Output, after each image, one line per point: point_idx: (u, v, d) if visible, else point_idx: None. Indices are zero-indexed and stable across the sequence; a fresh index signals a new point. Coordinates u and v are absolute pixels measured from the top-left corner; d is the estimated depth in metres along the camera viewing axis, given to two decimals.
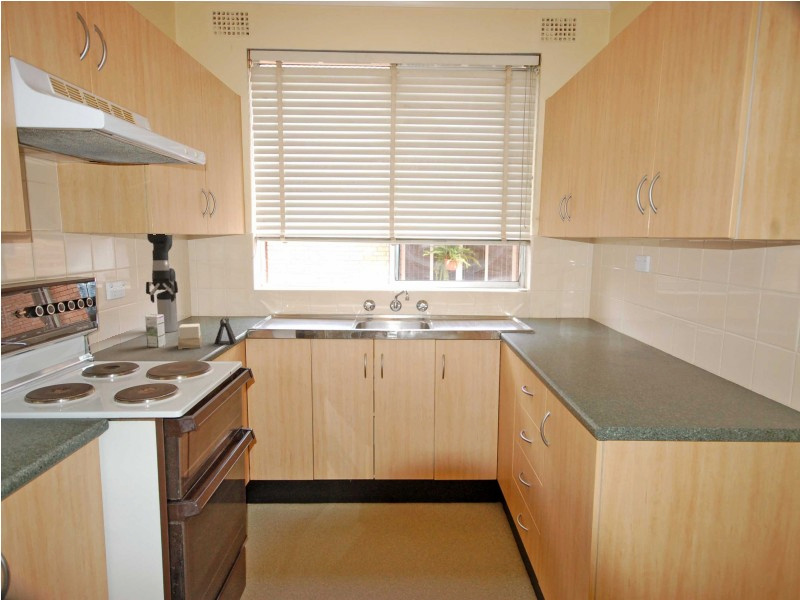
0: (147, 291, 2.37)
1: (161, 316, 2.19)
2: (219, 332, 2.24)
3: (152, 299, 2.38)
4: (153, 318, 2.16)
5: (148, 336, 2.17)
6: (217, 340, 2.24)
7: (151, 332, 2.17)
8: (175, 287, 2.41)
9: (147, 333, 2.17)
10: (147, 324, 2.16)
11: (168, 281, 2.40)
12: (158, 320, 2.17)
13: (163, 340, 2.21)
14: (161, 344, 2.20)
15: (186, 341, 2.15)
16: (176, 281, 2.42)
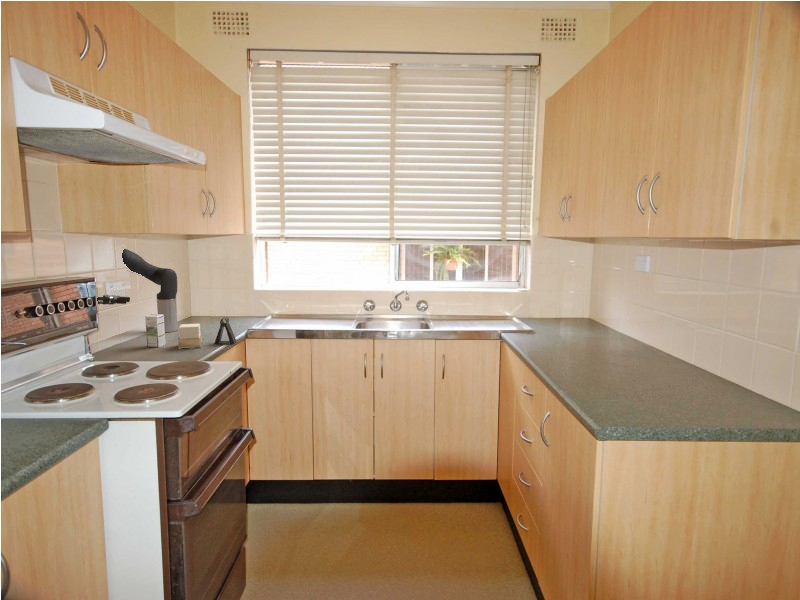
0: None
1: (161, 316, 2.19)
2: (219, 332, 2.24)
3: None
4: (153, 318, 2.16)
5: (148, 336, 2.17)
6: (217, 340, 2.24)
7: (151, 332, 2.17)
8: (106, 303, 2.06)
9: (147, 333, 2.17)
10: (147, 324, 2.16)
11: None
12: (158, 320, 2.17)
13: (163, 340, 2.21)
14: (161, 344, 2.20)
15: (186, 341, 2.15)
16: (98, 299, 2.04)
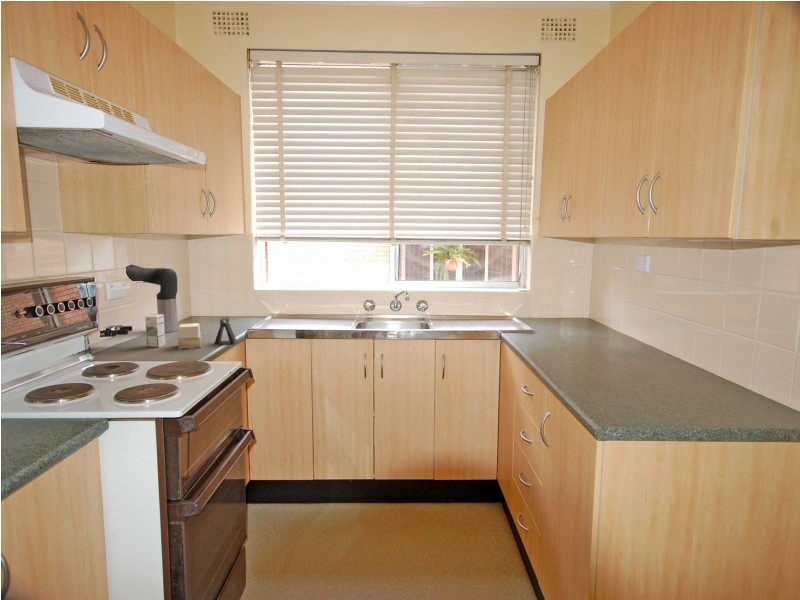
0: None
1: (161, 316, 2.19)
2: (219, 332, 2.24)
3: (128, 330, 2.20)
4: (153, 318, 2.16)
5: (148, 336, 2.17)
6: (217, 340, 2.24)
7: (151, 332, 2.17)
8: None
9: (147, 333, 2.17)
10: (147, 324, 2.16)
11: None
12: (158, 320, 2.17)
13: (163, 340, 2.21)
14: (161, 344, 2.20)
15: (186, 341, 2.15)
16: None
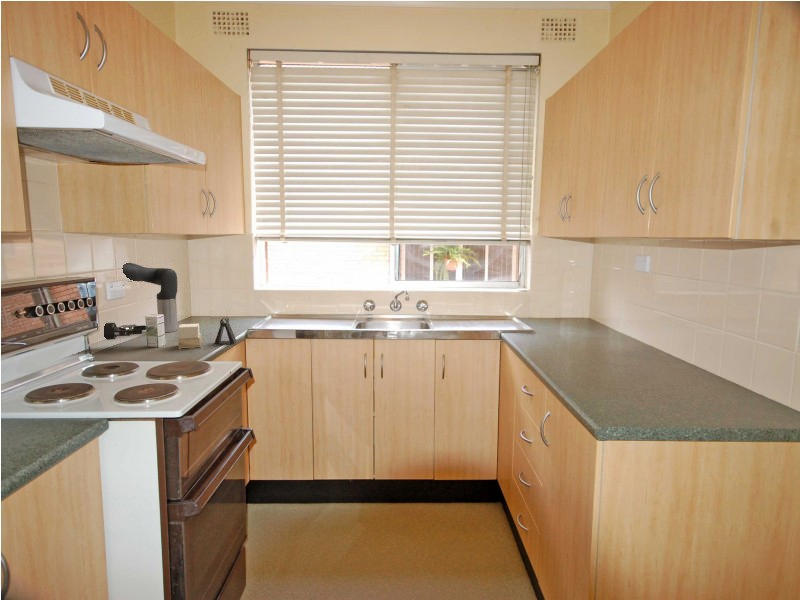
0: None
1: (161, 316, 2.19)
2: (219, 332, 2.24)
3: None
4: (153, 318, 2.16)
5: (148, 336, 2.17)
6: (217, 340, 2.24)
7: (151, 332, 2.17)
8: None
9: (147, 333, 2.17)
10: (147, 324, 2.16)
11: None
12: (158, 320, 2.17)
13: (163, 340, 2.21)
14: (161, 344, 2.20)
15: (186, 341, 2.15)
16: (114, 332, 2.09)
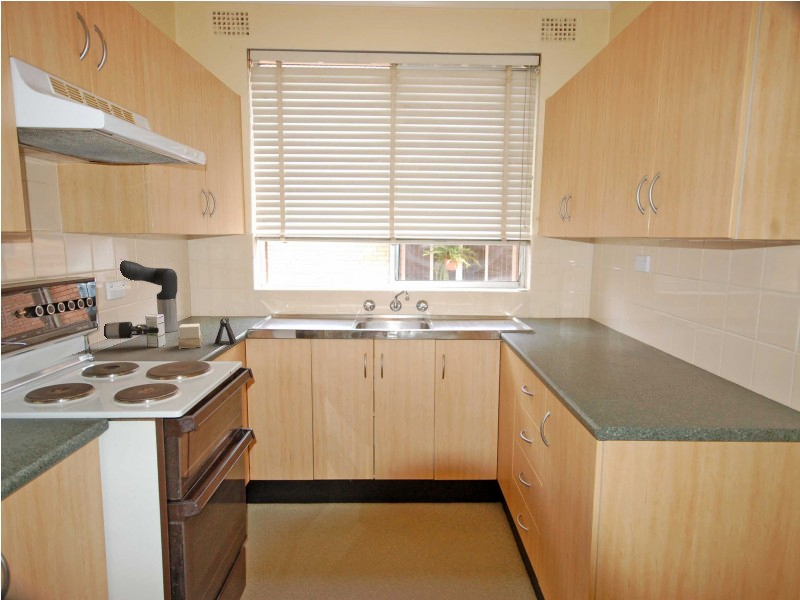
0: None
1: (161, 316, 2.19)
2: (219, 332, 2.24)
3: None
4: (153, 318, 2.16)
5: (148, 336, 2.17)
6: (217, 340, 2.24)
7: None
8: None
9: None
10: (147, 324, 2.16)
11: None
12: (158, 320, 2.17)
13: (163, 340, 2.21)
14: (161, 344, 2.20)
15: (186, 341, 2.15)
16: (131, 331, 2.11)
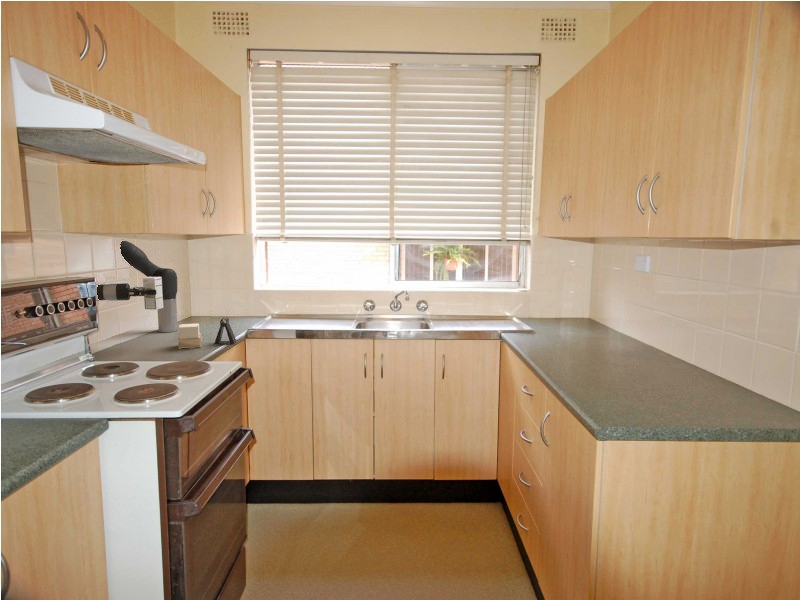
0: None
1: (159, 278, 2.17)
2: (219, 332, 2.24)
3: None
4: (151, 280, 2.13)
5: (146, 298, 2.15)
6: (217, 340, 2.24)
7: None
8: (137, 295, 2.10)
9: None
10: (145, 286, 2.14)
11: None
12: (156, 282, 2.15)
13: (161, 303, 2.19)
14: (159, 307, 2.17)
15: (186, 341, 2.15)
16: (129, 292, 2.08)
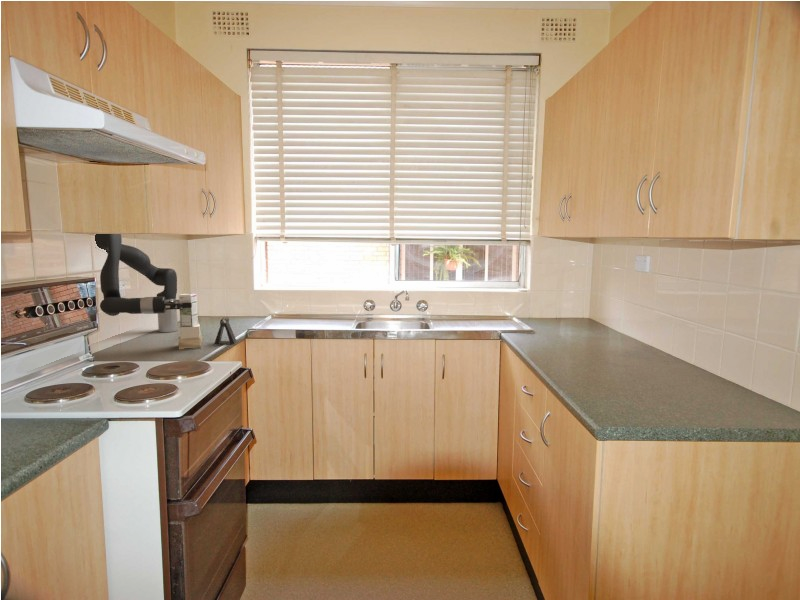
0: None
1: (194, 295, 2.17)
2: (219, 332, 2.24)
3: None
4: (187, 297, 2.14)
5: (182, 315, 2.15)
6: (217, 340, 2.24)
7: (185, 311, 2.15)
8: (173, 309, 2.10)
9: (180, 312, 2.15)
10: None
11: None
12: (192, 299, 2.15)
13: (196, 319, 2.19)
14: (194, 323, 2.18)
15: (186, 342, 2.15)
16: (165, 305, 2.09)
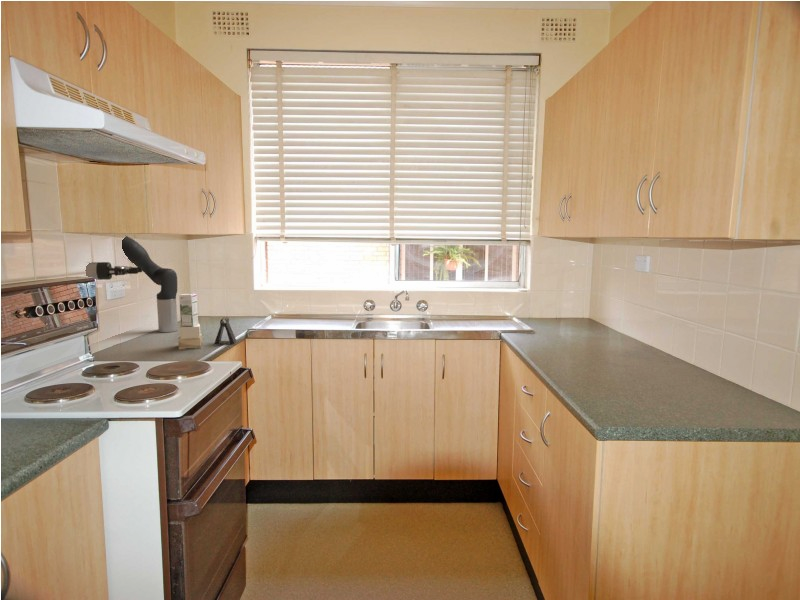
0: None
1: (194, 295, 2.18)
2: (219, 332, 2.24)
3: None
4: (187, 296, 2.14)
5: (182, 315, 2.15)
6: (217, 340, 2.24)
7: (185, 311, 2.15)
8: (118, 274, 2.04)
9: (181, 312, 2.15)
10: (181, 303, 2.14)
11: None
12: (192, 299, 2.15)
13: (196, 319, 2.19)
14: (195, 323, 2.18)
15: (186, 342, 2.15)
16: (109, 270, 2.02)
